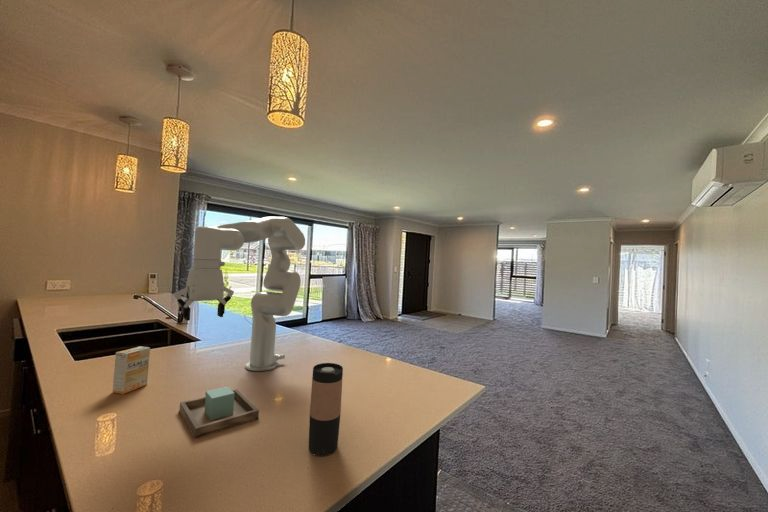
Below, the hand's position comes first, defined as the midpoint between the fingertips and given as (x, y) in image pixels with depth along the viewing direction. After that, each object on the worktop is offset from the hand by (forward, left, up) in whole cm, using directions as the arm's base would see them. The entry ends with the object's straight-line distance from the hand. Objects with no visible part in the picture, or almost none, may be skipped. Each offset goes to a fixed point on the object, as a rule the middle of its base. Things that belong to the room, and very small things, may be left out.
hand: (204, 318), depth 100 cm
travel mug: (-17, +46, -26) cm, 56 cm away
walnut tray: (-2, +14, -26) cm, 30 cm away
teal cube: (-2, +14, -25) cm, 29 cm away
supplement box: (+15, -21, -26) cm, 37 cm away
